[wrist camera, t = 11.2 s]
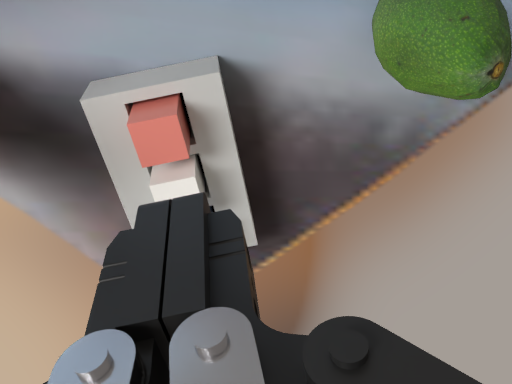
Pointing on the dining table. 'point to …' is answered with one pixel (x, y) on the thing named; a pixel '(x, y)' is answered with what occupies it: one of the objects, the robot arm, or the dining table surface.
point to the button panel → (201, 128)
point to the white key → (176, 179)
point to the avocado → (443, 45)
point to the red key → (159, 130)
